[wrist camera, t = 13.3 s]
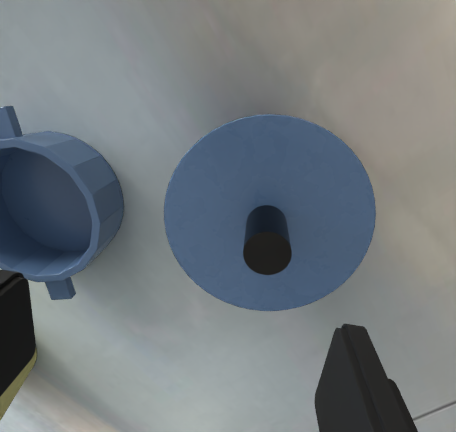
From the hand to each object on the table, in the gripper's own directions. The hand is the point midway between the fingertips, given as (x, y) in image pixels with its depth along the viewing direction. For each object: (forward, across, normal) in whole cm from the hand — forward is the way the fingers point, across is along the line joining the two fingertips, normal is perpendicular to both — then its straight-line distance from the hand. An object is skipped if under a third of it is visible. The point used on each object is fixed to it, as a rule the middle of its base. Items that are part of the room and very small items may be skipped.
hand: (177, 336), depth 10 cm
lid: (+16, -3, +2) cm, 17 cm away
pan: (+26, +19, +7) cm, 33 cm away
